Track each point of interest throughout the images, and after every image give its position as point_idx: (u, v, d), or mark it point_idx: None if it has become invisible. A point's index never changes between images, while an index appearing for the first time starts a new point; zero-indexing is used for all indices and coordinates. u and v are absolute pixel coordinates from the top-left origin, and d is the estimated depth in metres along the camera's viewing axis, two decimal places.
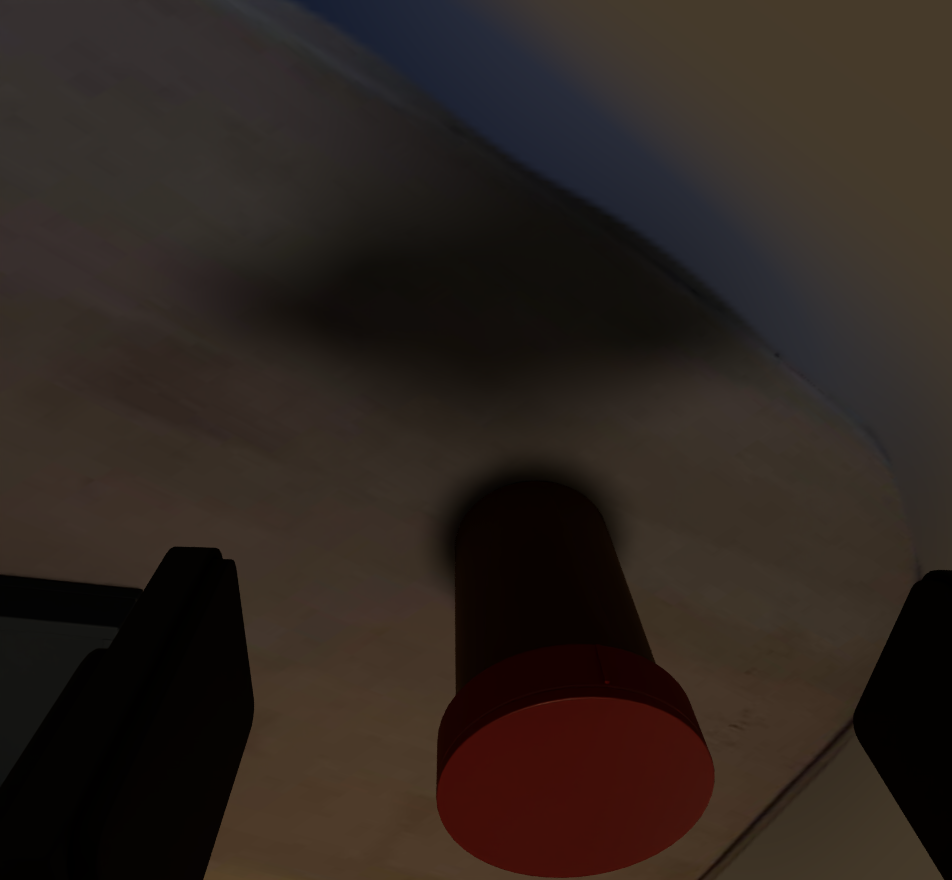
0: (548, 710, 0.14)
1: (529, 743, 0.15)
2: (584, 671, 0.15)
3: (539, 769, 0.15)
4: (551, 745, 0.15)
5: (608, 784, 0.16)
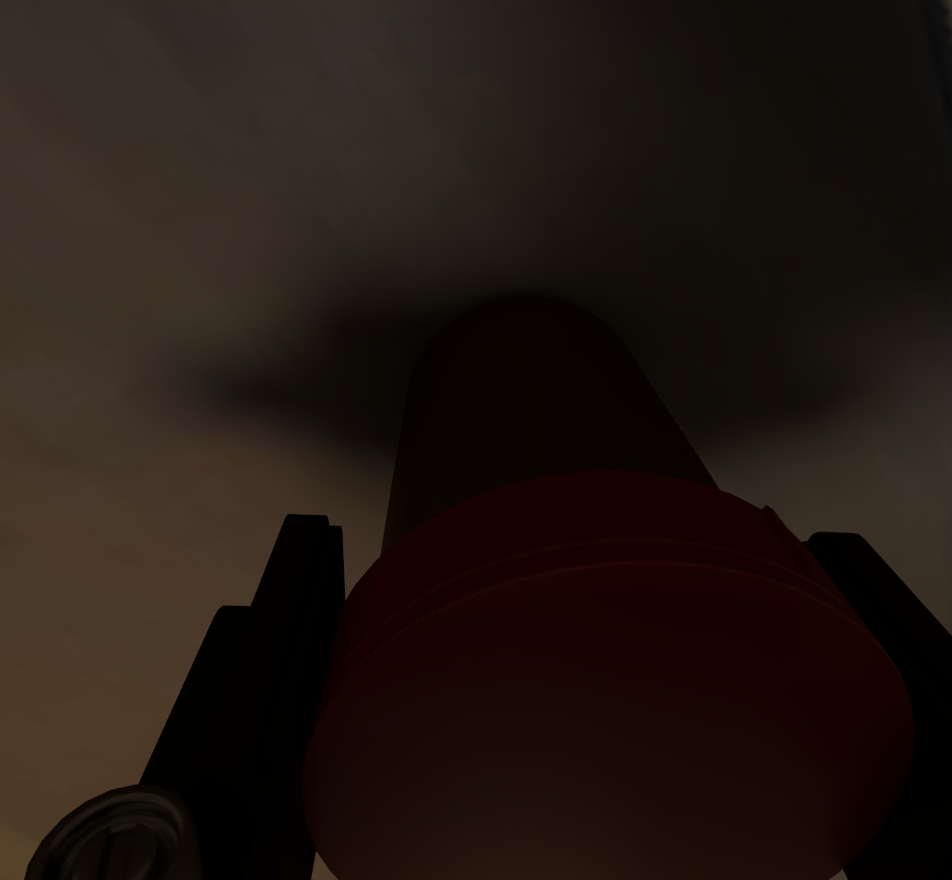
0: (689, 587, 0.06)
1: (595, 655, 0.06)
2: (762, 539, 0.07)
3: (574, 724, 0.07)
4: (636, 676, 0.06)
5: (682, 798, 0.07)
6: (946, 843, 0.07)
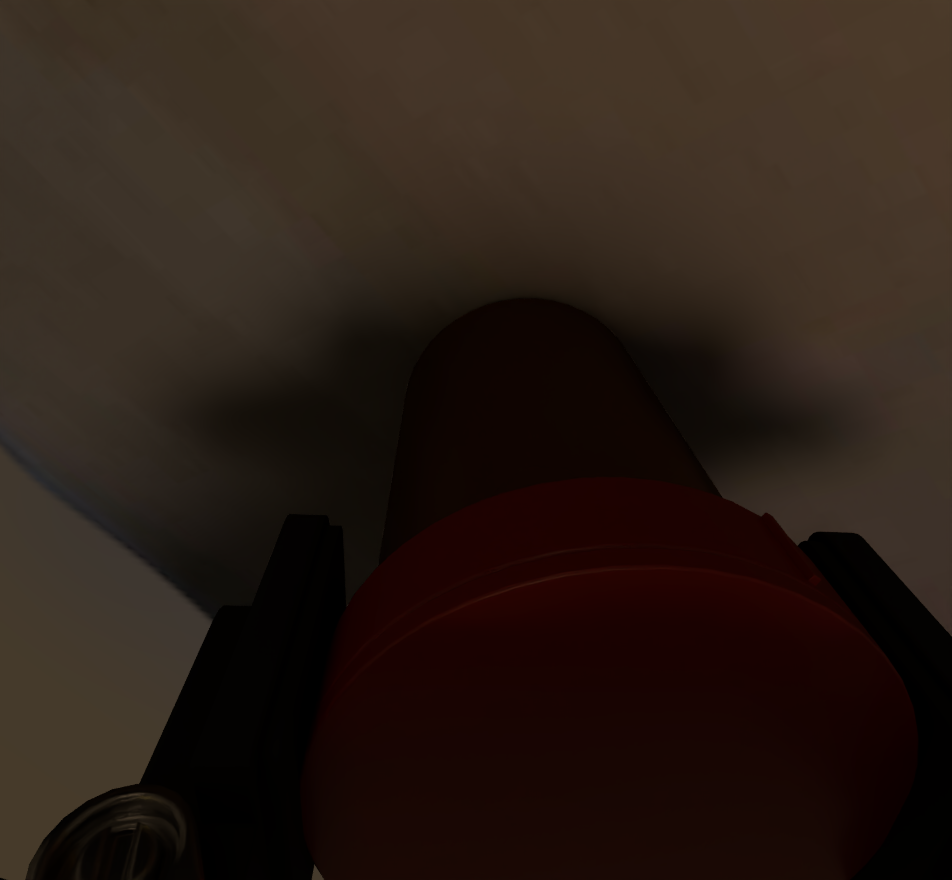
0: (690, 592, 0.06)
1: (596, 662, 0.06)
2: (763, 545, 0.07)
3: (576, 732, 0.07)
4: (637, 683, 0.06)
5: (685, 809, 0.07)
6: (945, 843, 0.07)
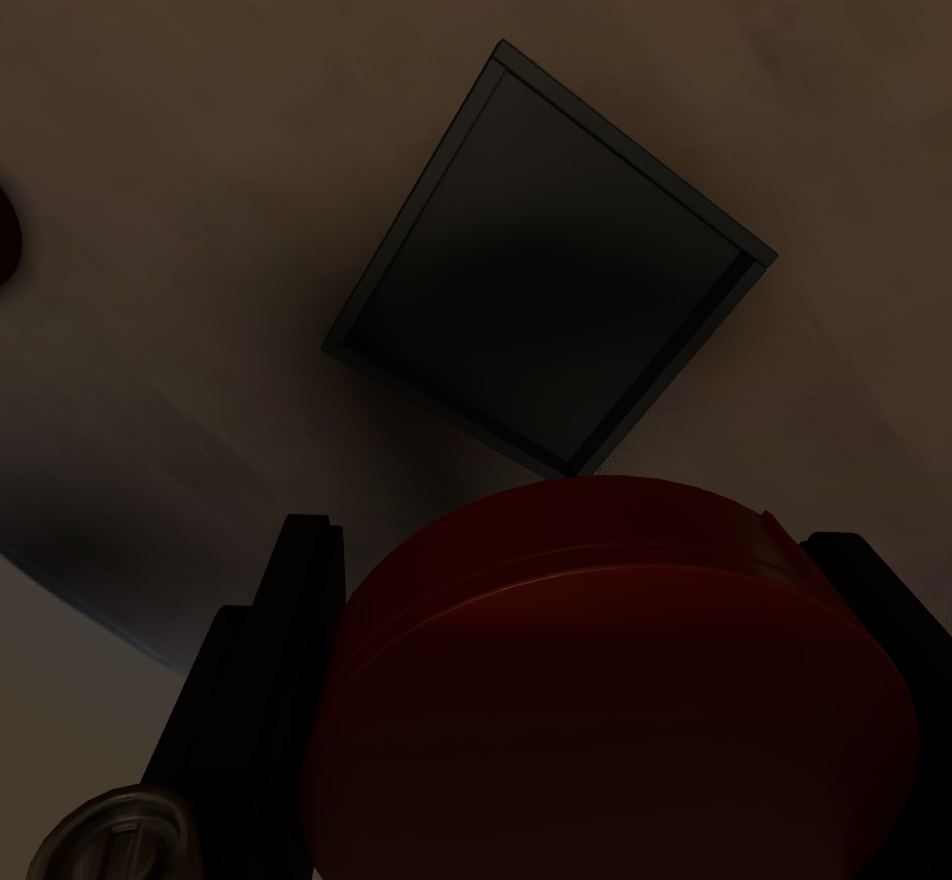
0: (689, 591, 0.06)
1: (595, 661, 0.06)
2: (762, 543, 0.07)
3: (576, 732, 0.07)
4: (636, 682, 0.06)
5: (685, 808, 0.07)
6: (945, 843, 0.07)
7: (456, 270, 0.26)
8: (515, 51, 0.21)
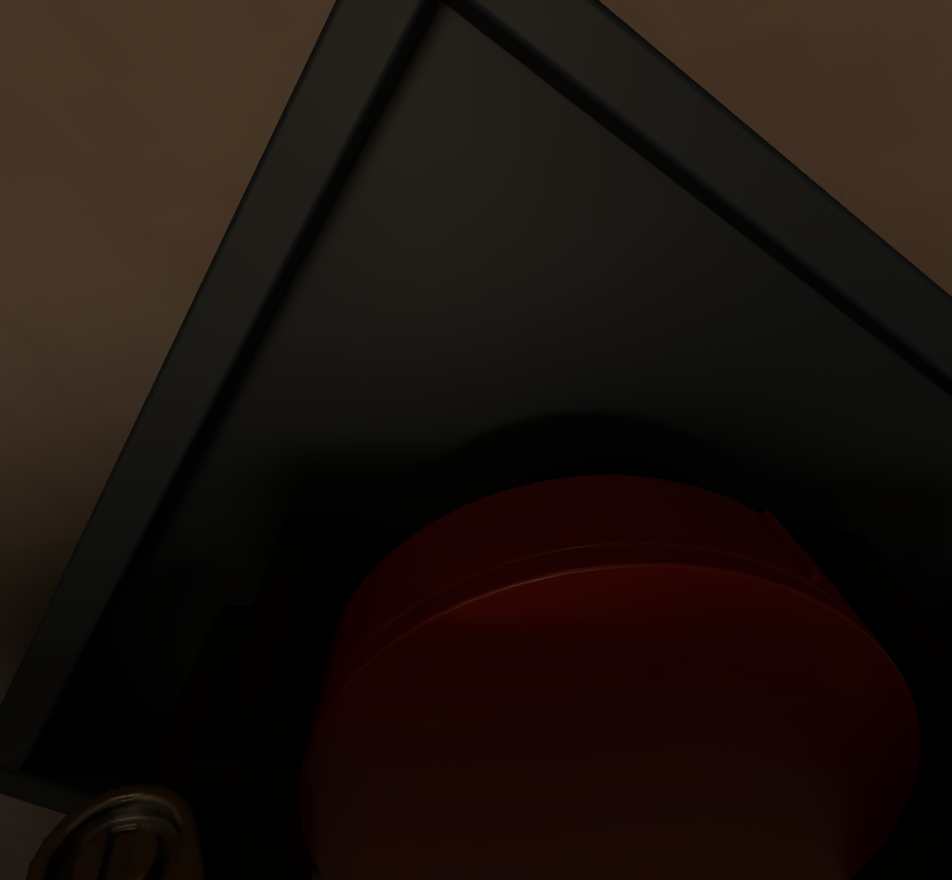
0: (690, 590, 0.06)
1: (596, 660, 0.06)
2: (762, 543, 0.07)
3: (575, 732, 0.07)
4: (637, 682, 0.06)
5: (686, 808, 0.07)
6: (945, 843, 0.07)
7: None
8: None
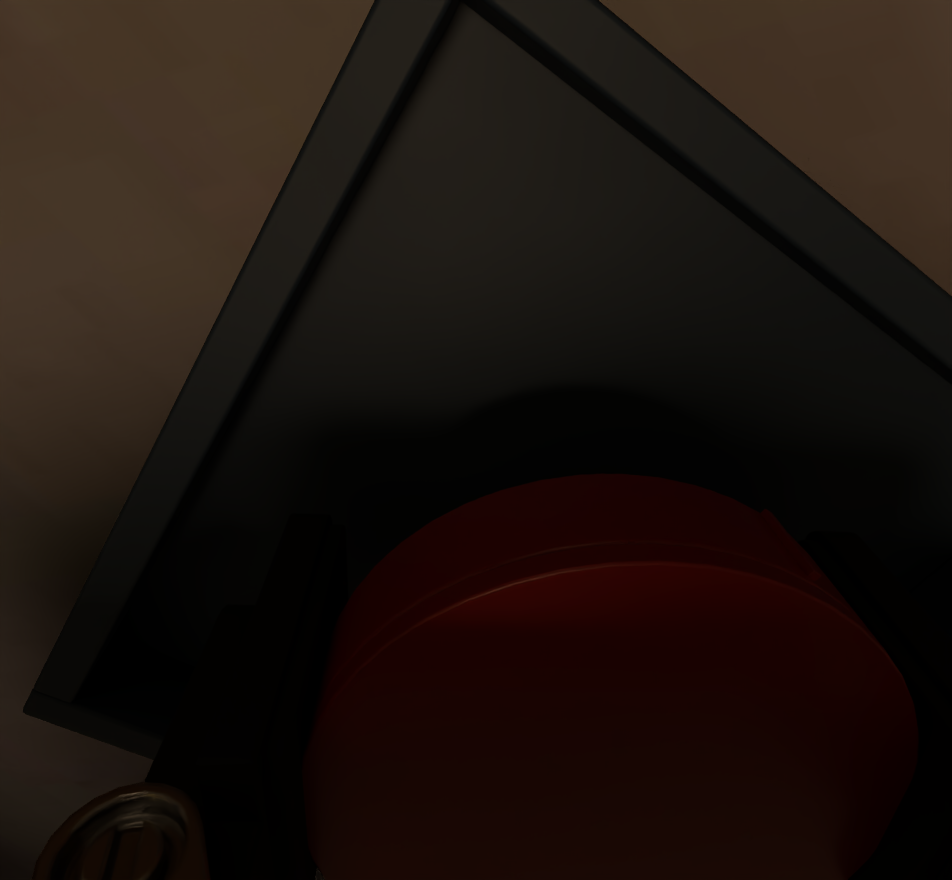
0: (689, 588, 0.06)
1: (595, 658, 0.06)
2: (762, 541, 0.07)
3: (575, 730, 0.07)
4: (637, 680, 0.06)
5: (685, 806, 0.07)
6: (940, 841, 0.07)
7: (357, 512, 0.11)
8: None
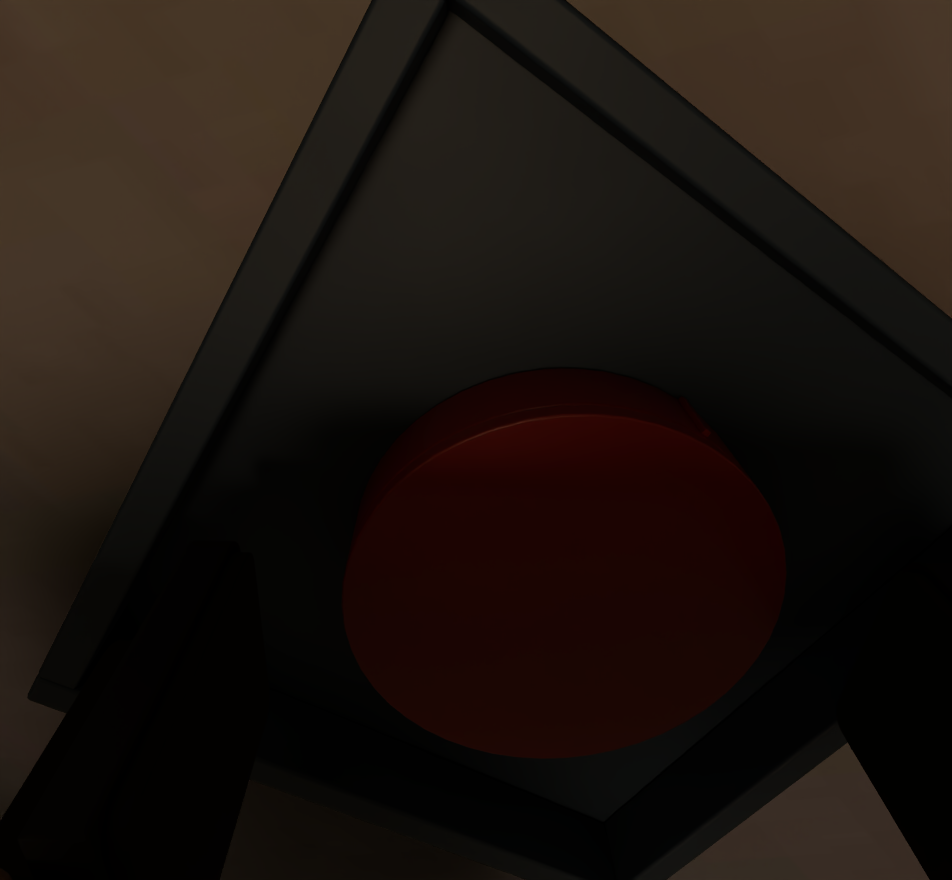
0: (614, 434, 0.09)
1: (552, 487, 0.09)
2: (672, 411, 0.09)
3: (539, 544, 0.09)
4: (581, 505, 0.09)
5: (620, 608, 0.10)
6: None
7: (352, 503, 0.11)
8: None
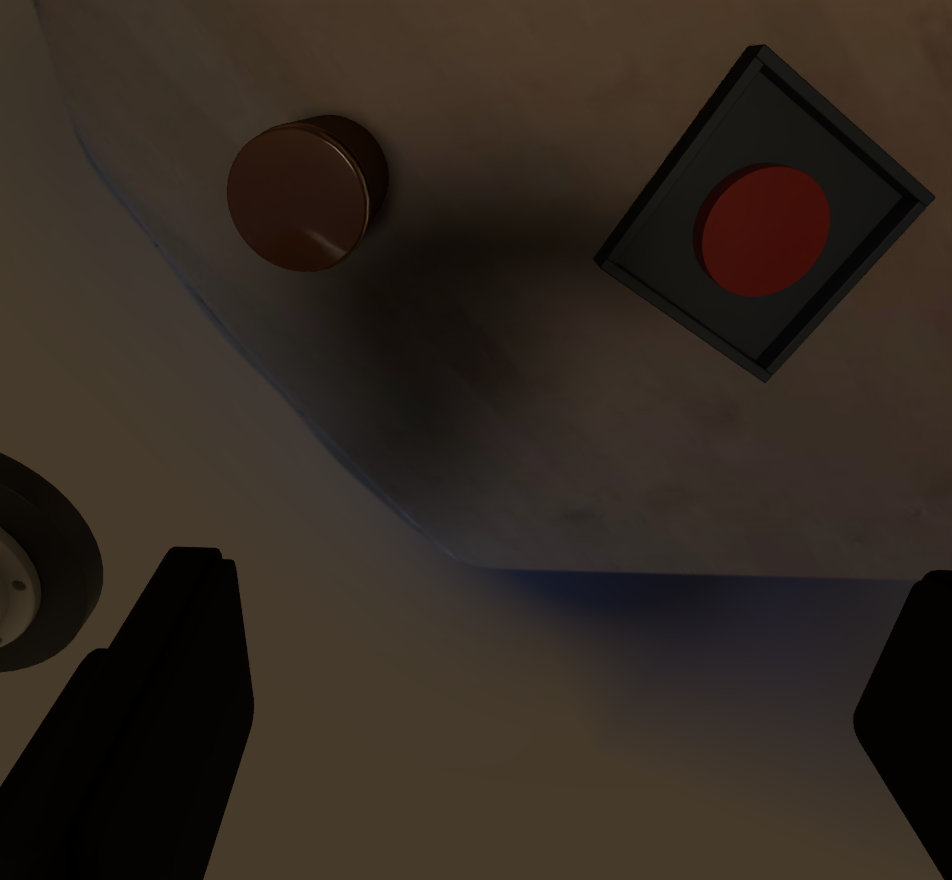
0: (787, 172, 0.33)
1: (768, 189, 0.34)
2: None
3: (762, 209, 0.34)
4: (775, 195, 0.34)
5: (782, 233, 0.35)
6: None
7: (696, 210, 0.36)
8: (772, 52, 0.31)
